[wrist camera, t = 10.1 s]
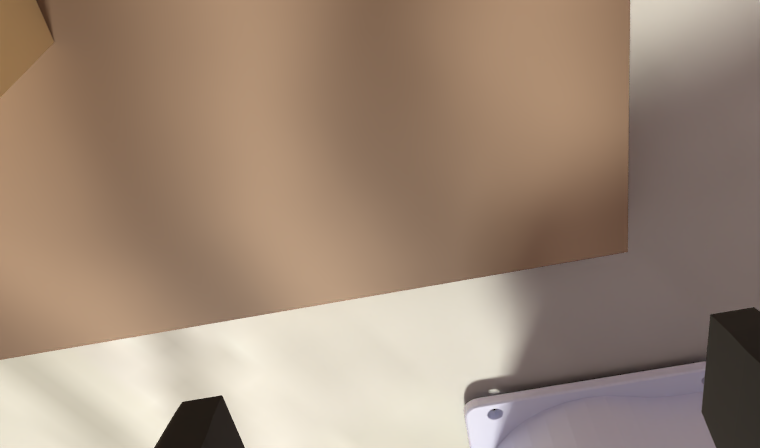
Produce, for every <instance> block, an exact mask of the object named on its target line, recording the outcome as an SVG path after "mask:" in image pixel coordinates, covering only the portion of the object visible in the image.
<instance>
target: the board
mask: <svg viewBox="0 0 760 448" xmlns="http://www.w3.org/2000/svg"><path fill="white" fill-rule="evenodd" d="M36 2H37V4H38V6H39V8H40V11H41V13H42V15H43V17H44V20H45V22H46V24H47V27H48V29H49V31H50V33H51V36H52V38H53V40H54V43H53V44H52V45H51V46H50V47H49V48H48V49H47V50H46V51H45V52H44V53H43V54H42V55H41V56H40V57H39V58H38V59H37V60H36V62H35V63H34V64H33V65H32V66H31V67H30V68H29V69H28V70H27V71H26V72H25V73H24V74H23V75H22V76H21V77H20V78H19V79H18V80H17V81H16V82H15V83H14V84H13V85H12V86H11V87H10V88H9V89H8V90H7V91H6V92H5V93H4V94H3V95H2V96H1V97H0V360H2V359H8V358H14V357H19V356H25V355H31V354H37V353H43V352H48V351H54V350H60V349H66V348H72V347H78V346H83V345H89V344H95V343H101V342H107V341H112V340H118V339H124V338H130V337H136V336H141V335H147V334H153V333H159V332H165V331H171V330H176V329H182V328H188V327H194V326H200V325H205V324H211V323H217V322H223V321H229V320H235V319H240V318H246V317H252V316H258V315H264V314H269V313H275V312H281V311H287V310H293V309H299V308H304V307H310V306H316V305H322V304H328V303H333V302H339V301H345V300H351V299H357V298H363V297H368V296H374V295H380V294H386V293H392V292H397V291H403V290H409V289H415V288H421V287H426V286H432V285H438V284H444V283H450V282H456V281H461V280H467V279H473V278H479V277H485V276H490V275H496V274H502V273H508V272H514V271H520V270H525V269H531V268H537V267H543V266H549V265H554V264H560V263H566V262H572V261H578V260H584V259H589V258H595V257H601V256H607V255H613V254H618V253H624V252H628V151H629V45H630V0H36Z"/></svg>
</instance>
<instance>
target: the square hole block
mask: <svg viewBox="0 0 760 448" xmlns="http://www.w3.org/2000/svg"><path fill="white" fill-rule="evenodd" d="M53 43H54V40H53V38H52V36H51V33H50V31H49V29H48V27H47V24H46V22H45V20H44V17H43V15H42V13H41V11H40V8H39V6H38V4H37V2H36V0H0V97H1V96H2V95H3V94H4V93H5V92H6V91H7V90H8V89H9V88H10V87H11V86H12V85H13V84H14V83H15V82H16V81H17V80H18V79H19V78H20V77H21V76H22V75H23V74H24V73H25V72H26V71H27V70H28V69H29V68H30V67H31V66H32V65H33V64H34V63H35V62H36V60H37V59H38V58H39V57H40V56H41V55H42V54H43V53H44V52H45V51H46V50H47V49H48V48H49V47H50V46H51V45H52V44H53Z"/></svg>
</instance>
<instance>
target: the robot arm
mask: <svg viewBox="0 0 760 448" xmlns="http://www.w3.org/2000/svg"><path fill="white" fill-rule="evenodd" d="M492 409H497V410H492ZM464 416H465V421H466V427H467V433H468V439H469V445H470V448H760V311H758V310H757V309H755V308H754V307H753V308H747V309H741V310H735V311H729V312H723V313H717V314H711V315H710V326H709V336H708V347H707V358H706V361H703V362H697V363H691V364H685V365H679V366H673V367H666V368H660V369H654V370H648V371H642V372H635V373H629V374H623V375H617V376H611V377H605V378H598V379H592V380H586V381H580V382H574V383H567V384H561V385H555V386H549V387H543V388H537V389H530V390H524V391H518V392H512V393H506V394H499V395H493V396H487V397H481V398H476V399H472V400H471V401H469V402H468V403H466V405H465V406H464ZM154 448H245V447H244V445H243V443H242V440H241V438H240V436H239V433H238V431H237V429H236V426H235V424H234V422H233V420H232V417H231V415H230V413H229V410H228V408H227V406H226V403H225V401H224V399H223V396H216V397H210V398H204V399H197V400H191V401H185V402H182V404H181V405H180V406H179V408H178V409H177V411H176V412H175V414H174V416H173V417H172V419H171V421H170V422H169V424H168V426H167V427H166V429H165V431H164V432H163V434H162V436H161V437H160V439H159V441H158V442H157V444H156V446H155V447H154Z"/></svg>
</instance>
